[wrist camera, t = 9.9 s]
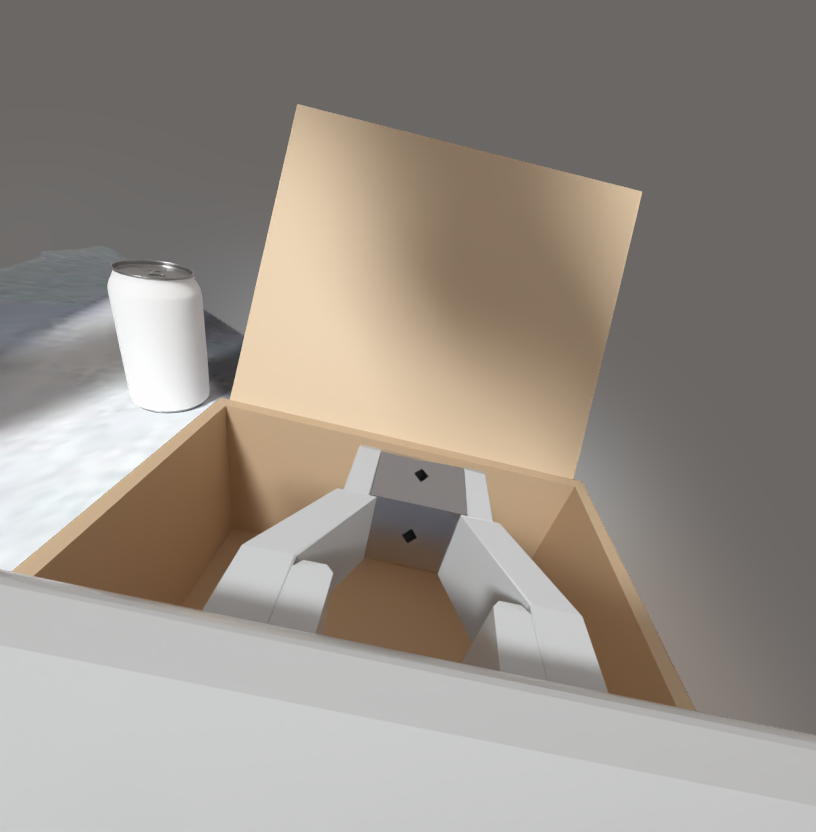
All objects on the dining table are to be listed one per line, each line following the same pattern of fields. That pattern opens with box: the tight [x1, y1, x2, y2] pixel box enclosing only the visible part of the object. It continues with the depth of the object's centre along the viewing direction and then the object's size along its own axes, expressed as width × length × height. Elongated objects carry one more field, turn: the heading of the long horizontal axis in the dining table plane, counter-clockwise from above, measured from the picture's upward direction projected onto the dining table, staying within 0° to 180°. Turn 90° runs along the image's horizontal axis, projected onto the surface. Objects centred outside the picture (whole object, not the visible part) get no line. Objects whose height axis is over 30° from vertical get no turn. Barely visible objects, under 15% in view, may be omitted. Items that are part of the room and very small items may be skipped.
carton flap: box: [230, 104, 642, 479], centre depth 19 cm, size 16×19×1 cm
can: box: [108, 259, 210, 413], centre depth 32 cm, size 6×6×12 cm
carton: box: [11, 398, 696, 711], centre depth 15 cm, size 16×20×10 cm
